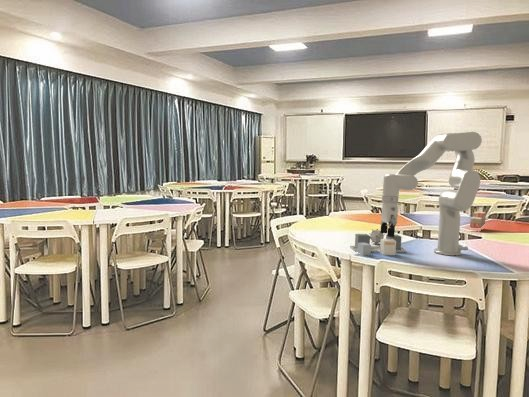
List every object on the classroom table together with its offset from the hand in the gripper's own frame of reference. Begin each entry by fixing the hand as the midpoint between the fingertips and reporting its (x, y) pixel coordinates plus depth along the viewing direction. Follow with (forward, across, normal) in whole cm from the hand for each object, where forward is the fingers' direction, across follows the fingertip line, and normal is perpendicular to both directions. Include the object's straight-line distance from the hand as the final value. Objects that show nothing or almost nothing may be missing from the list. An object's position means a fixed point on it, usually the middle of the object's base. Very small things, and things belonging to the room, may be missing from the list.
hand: (387, 234), depth 207 cm
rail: (+9, +9, +1) cm, 13 cm away
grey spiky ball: (+9, +26, -4) cm, 28 cm away
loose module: (+9, 0, -1) cm, 9 cm away
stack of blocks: (+6, +84, -94) cm, 127 cm away
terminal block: (+10, -1, +11) cm, 15 cm away
